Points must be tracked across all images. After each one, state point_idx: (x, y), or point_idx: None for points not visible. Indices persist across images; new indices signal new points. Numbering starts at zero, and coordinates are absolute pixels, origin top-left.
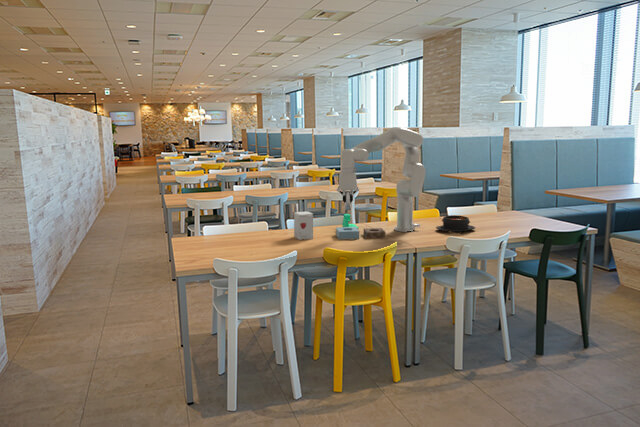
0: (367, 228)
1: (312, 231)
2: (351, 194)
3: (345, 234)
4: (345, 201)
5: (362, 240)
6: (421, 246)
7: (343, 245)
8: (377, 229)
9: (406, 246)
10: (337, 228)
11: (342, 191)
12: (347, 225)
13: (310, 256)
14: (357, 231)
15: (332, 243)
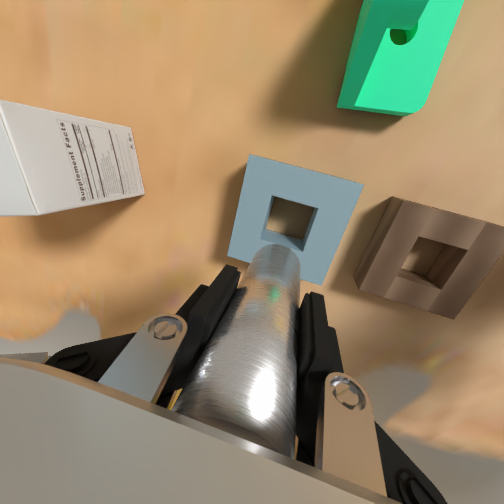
0: (425, 209)
1: (120, 199)
2: (296, 439)
3: None
4: None
5: None
6: (460, 441)
7: None
8: (466, 248)
9: (411, 419)
10: (245, 186)
11: (110, 382)
12: (352, 89)
13: None
14: (312, 282)
15: (196, 287)
